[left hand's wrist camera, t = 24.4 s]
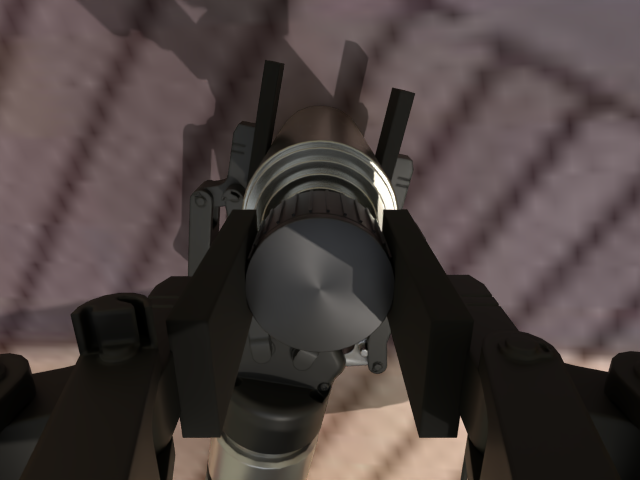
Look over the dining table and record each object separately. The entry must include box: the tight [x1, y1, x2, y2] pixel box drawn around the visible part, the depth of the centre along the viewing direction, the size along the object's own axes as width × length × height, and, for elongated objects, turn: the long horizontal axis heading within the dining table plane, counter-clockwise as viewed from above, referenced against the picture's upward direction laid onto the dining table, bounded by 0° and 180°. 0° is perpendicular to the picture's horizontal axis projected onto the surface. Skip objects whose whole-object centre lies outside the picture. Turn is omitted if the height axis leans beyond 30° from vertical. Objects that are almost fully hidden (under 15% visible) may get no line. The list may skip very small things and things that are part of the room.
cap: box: [245, 190, 395, 352], centre depth 13 cm, size 4×4×3 cm
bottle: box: [242, 106, 398, 231], centre depth 22 cm, size 6×6×20 cm
